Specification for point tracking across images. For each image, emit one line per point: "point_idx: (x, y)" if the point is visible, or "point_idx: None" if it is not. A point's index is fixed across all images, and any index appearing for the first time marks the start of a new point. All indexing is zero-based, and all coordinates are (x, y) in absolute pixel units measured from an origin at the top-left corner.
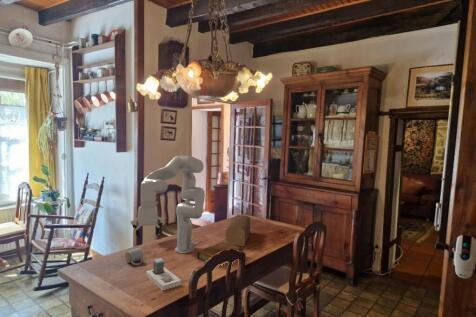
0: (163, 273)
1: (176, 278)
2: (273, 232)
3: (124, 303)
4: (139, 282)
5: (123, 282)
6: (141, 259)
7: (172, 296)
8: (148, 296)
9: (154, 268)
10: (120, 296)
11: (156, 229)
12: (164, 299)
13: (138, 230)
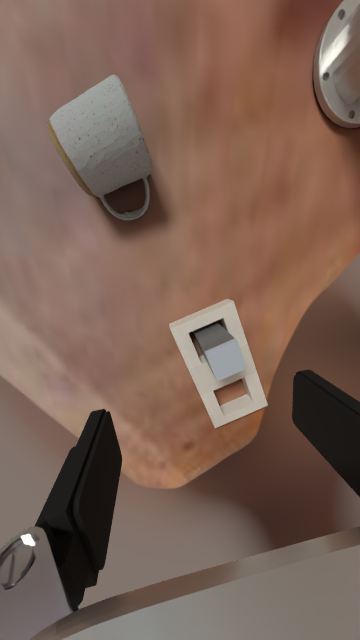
0: None
1: (257, 394)
2: None
3: None
4: (149, 364)
5: (99, 356)
6: (146, 189)
7: (230, 442)
8: (176, 436)
9: (201, 348)
10: None
11: (352, 488)
12: (211, 451)
13: (92, 576)
